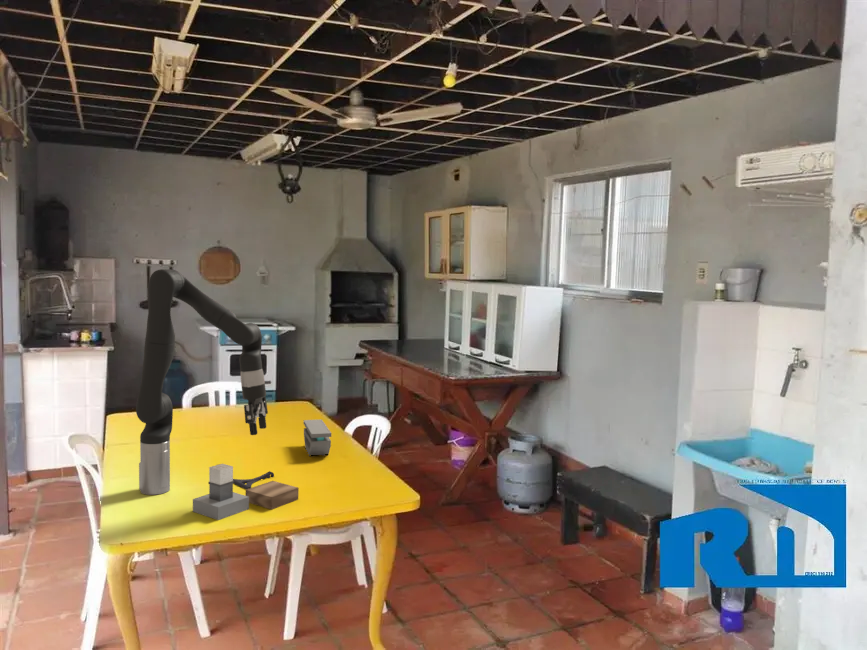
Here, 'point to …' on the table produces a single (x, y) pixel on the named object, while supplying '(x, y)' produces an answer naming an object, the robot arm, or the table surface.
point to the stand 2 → (272, 494)
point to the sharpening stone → (316, 437)
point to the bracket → (251, 480)
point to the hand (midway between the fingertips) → (258, 431)
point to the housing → (221, 482)
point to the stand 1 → (220, 506)
